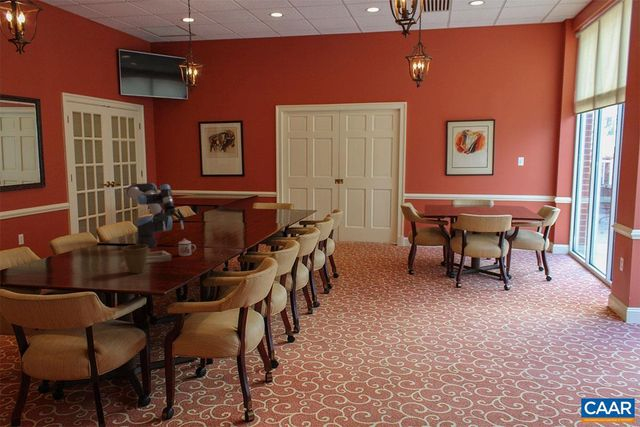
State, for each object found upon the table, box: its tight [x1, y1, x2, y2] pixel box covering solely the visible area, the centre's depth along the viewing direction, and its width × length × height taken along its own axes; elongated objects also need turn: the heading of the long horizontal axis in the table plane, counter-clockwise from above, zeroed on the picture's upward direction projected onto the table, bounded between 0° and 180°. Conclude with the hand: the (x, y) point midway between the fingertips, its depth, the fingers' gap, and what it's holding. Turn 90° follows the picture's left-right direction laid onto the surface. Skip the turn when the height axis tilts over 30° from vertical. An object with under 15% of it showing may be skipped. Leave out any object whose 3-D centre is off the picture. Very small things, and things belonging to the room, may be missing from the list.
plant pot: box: [121, 244, 149, 274], centre depth 305 cm, size 15×15×16 cm
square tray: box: [145, 250, 173, 265], centre depth 337 cm, size 17×20×4 cm
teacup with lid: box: [177, 238, 197, 257], centre depth 352 cm, size 12×9×12 cm
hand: (173, 229), depth 365 cm, fingers open, 13 cm apart
